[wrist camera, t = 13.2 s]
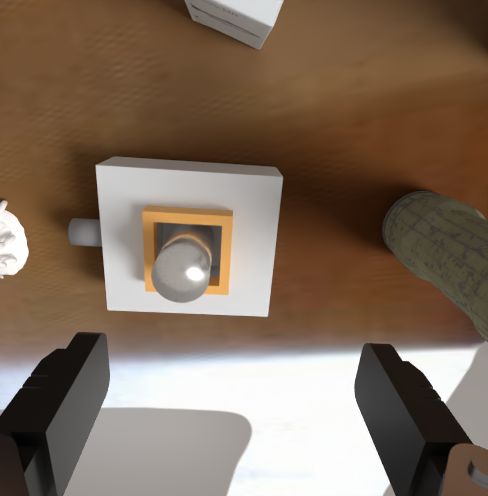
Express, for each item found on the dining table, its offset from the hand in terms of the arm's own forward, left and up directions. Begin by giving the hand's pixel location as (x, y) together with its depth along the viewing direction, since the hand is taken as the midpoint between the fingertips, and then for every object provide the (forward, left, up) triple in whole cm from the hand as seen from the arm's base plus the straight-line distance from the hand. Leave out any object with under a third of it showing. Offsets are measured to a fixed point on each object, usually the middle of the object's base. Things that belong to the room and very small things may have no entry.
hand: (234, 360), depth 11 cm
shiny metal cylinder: (+4, +7, -29) cm, 30 cm away
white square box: (+4, +7, -32) cm, 33 cm away
